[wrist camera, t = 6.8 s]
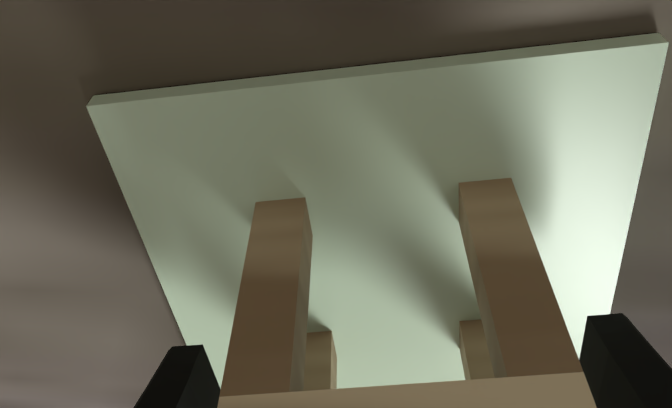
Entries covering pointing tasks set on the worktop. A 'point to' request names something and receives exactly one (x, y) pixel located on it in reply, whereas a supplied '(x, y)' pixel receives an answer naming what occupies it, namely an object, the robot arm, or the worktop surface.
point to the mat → (389, 188)
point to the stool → (474, 335)
